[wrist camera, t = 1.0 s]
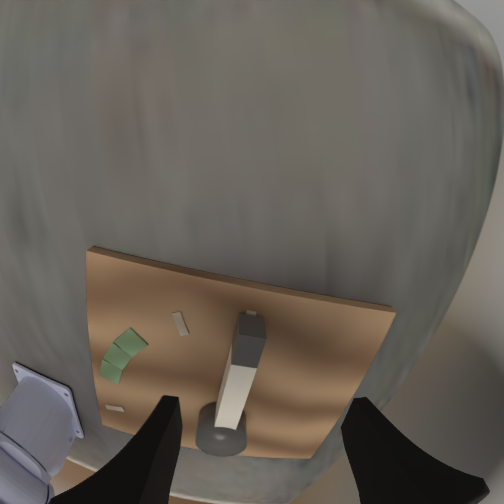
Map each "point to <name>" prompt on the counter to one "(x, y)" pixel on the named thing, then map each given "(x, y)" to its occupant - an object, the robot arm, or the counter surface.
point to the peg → (233, 392)
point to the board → (224, 350)
